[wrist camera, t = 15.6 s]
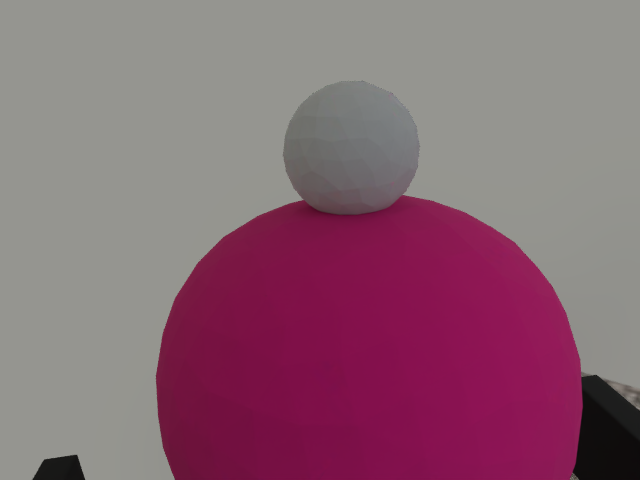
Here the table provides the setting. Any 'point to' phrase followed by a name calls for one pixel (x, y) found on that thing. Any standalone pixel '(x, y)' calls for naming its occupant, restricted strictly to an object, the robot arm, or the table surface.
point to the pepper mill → (366, 328)
